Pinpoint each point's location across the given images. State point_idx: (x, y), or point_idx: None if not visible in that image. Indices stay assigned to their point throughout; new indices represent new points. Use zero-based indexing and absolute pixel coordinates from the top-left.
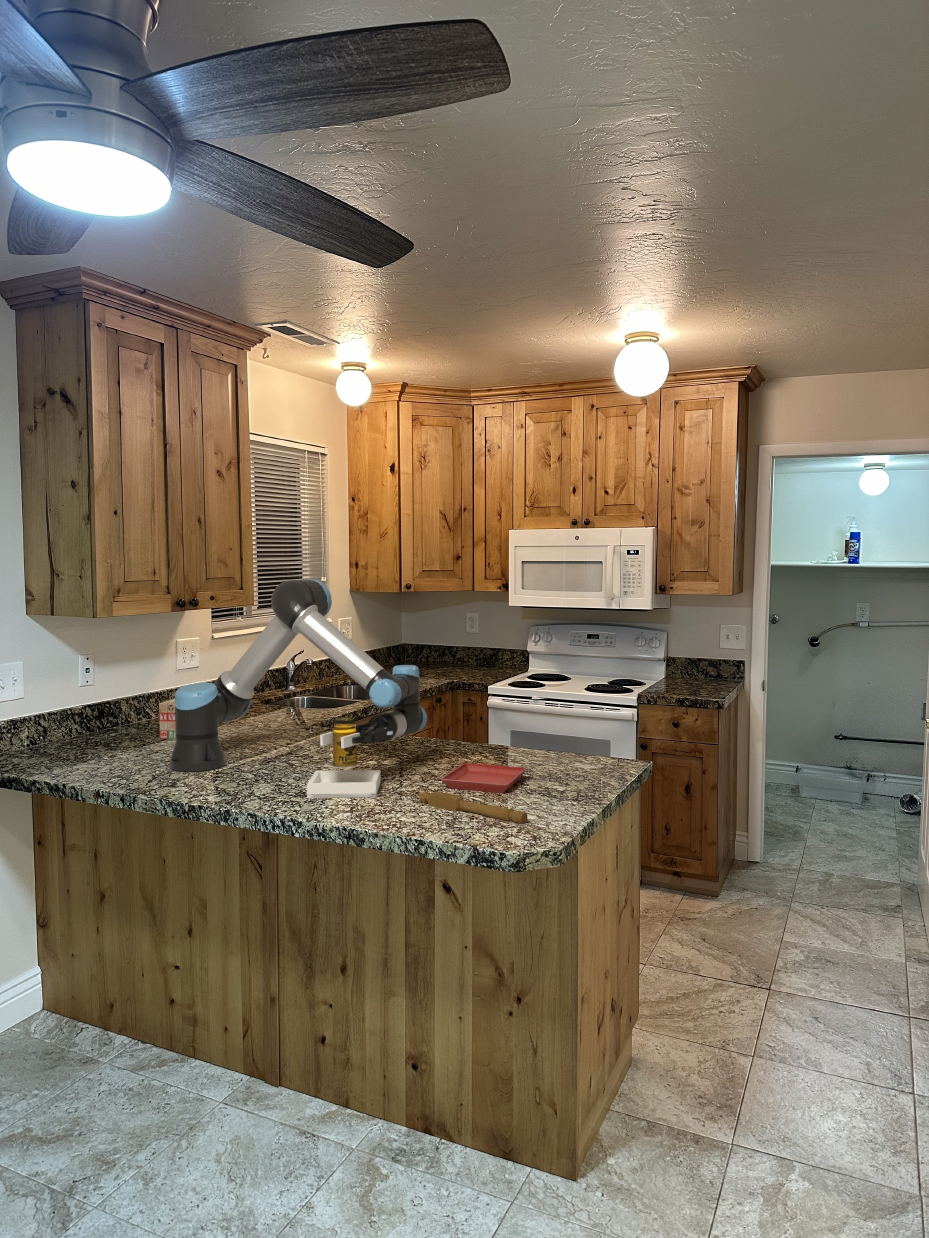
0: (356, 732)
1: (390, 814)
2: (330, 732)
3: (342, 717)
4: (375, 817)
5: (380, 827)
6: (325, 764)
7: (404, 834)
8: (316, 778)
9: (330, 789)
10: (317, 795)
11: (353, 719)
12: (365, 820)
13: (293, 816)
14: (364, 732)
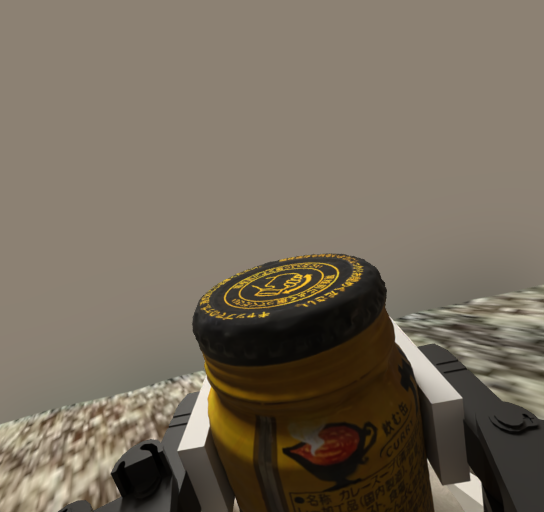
0: (215, 444)
1: (85, 484)
2: (402, 340)
3: (355, 281)
4: (123, 445)
5: (106, 413)
6: (444, 486)
7: (61, 415)
8: (475, 506)
9: None
10: None
11: (195, 313)
12: (142, 420)
13: None
14: (126, 474)
